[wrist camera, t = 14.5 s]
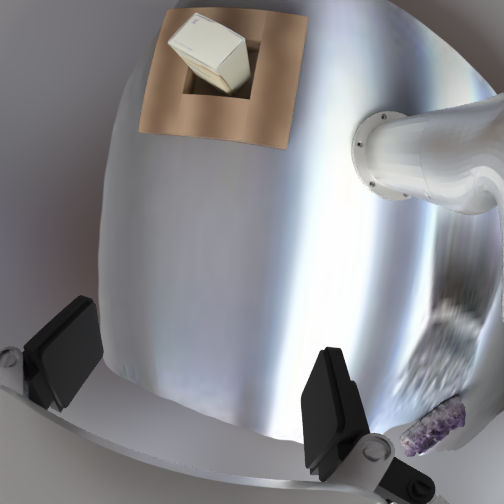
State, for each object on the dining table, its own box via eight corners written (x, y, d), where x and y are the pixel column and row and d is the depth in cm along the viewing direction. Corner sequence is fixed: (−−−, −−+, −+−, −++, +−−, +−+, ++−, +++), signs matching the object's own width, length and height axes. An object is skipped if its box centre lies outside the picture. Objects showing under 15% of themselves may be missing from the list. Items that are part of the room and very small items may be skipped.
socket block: (304, 32, 28) (308, 17, 23) (284, 149, 34) (286, 148, 29) (178, 23, 28) (167, 9, 23) (154, 134, 34) (138, 131, 29)
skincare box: (196, 75, 30) (163, 43, 18) (217, 51, 29) (194, 10, 17) (232, 99, 31) (213, 72, 19) (254, 75, 30) (246, 38, 18)
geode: (447, 389, 47) (466, 415, 38) (461, 393, 50) (477, 416, 41) (391, 438, 53) (403, 465, 44) (410, 438, 56) (422, 462, 47)
